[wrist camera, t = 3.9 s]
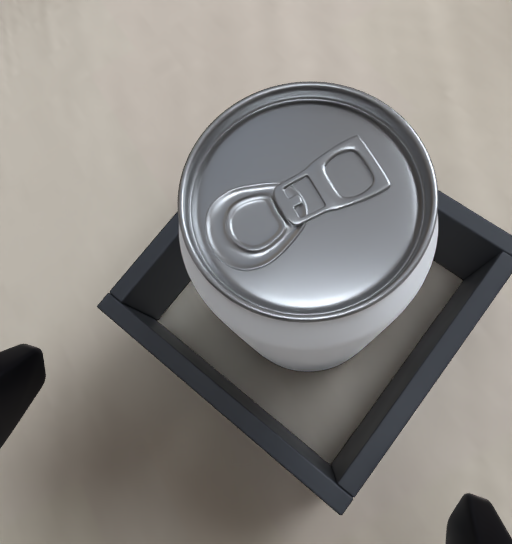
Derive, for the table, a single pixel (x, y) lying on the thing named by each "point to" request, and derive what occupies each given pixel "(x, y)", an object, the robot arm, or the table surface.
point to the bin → (395, 398)
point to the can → (308, 220)
